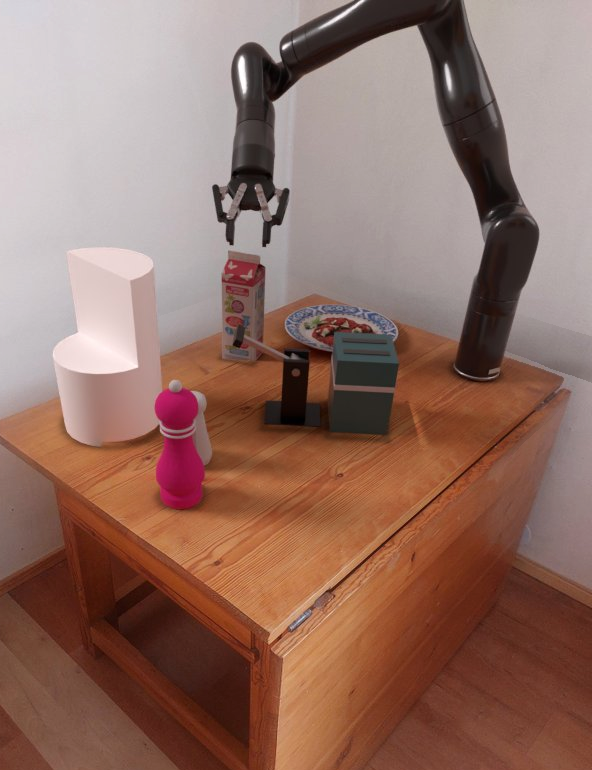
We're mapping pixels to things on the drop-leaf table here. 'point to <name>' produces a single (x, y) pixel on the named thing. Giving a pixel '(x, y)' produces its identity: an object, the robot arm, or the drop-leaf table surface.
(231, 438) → the drop-leaf table surface
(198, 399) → the salt shaker
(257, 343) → the lever
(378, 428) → the toaster
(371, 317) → the ceramic plate
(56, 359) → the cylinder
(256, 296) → the juice carton
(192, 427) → the pepper mill
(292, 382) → the bracket
